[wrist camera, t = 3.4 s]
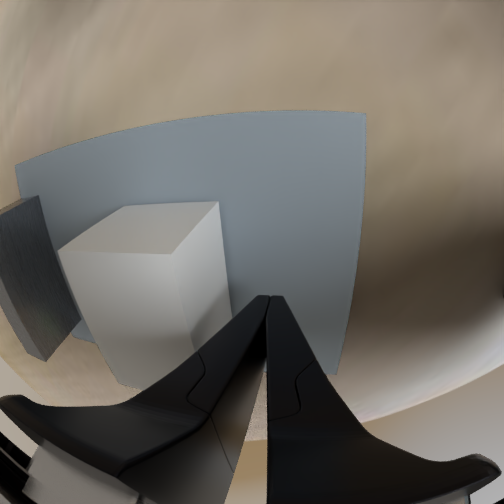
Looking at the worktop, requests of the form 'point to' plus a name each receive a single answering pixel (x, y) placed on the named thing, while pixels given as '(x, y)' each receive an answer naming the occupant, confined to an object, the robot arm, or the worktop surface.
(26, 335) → the dark grey upright slab
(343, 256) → the board
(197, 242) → the block
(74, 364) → the worktop surface
